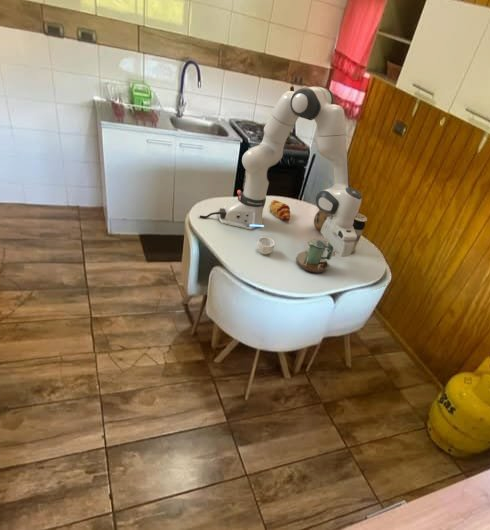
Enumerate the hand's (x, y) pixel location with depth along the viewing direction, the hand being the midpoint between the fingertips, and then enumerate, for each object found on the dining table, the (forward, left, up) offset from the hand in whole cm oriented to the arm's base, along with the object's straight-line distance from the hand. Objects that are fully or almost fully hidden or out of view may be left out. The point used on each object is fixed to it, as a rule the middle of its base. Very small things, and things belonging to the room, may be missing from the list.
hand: (330, 253), depth 167 cm
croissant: (-15, +44, -7) cm, 47 cm away
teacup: (-28, +6, -7) cm, 30 cm away
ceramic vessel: (+6, +32, -7) cm, 33 cm away
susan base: (-7, -1, -7) cm, 10 cm away
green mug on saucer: (-7, -1, -5) cm, 9 cm away
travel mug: (+15, +17, -7) cm, 23 cm away
